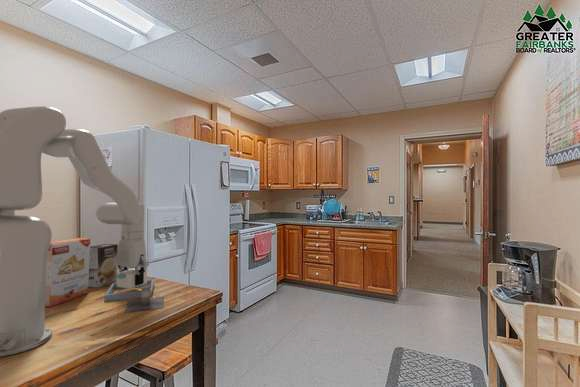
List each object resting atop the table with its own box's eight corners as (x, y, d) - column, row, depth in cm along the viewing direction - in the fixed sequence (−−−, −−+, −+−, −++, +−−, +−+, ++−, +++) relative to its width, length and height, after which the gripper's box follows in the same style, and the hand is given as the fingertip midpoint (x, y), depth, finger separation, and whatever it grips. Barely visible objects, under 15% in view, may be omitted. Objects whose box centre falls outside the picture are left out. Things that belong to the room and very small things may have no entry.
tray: (151, 298, 100) (151, 290, 100) (104, 304, 94) (104, 295, 94) (153, 286, 113) (153, 279, 113) (112, 291, 108) (112, 283, 108)
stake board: (163, 311, 89) (163, 289, 89) (123, 316, 85) (124, 293, 85) (164, 299, 99) (164, 279, 100) (129, 303, 95) (129, 283, 95)
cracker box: (50, 307, 91) (52, 243, 91) (36, 306, 92) (37, 243, 92) (89, 293, 105) (91, 238, 105) (76, 292, 106) (77, 237, 106)
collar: (125, 290, 98) (125, 276, 98) (111, 287, 100) (112, 274, 100) (146, 283, 106) (147, 270, 106) (133, 281, 109) (133, 268, 109)
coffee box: (98, 288, 111) (99, 247, 111) (85, 286, 112) (86, 247, 113) (117, 281, 120) (118, 244, 120) (104, 280, 121) (105, 243, 122)
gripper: (107, 235, 104) (106, 283, 104) (140, 238, 97) (139, 289, 97) (125, 233, 111) (124, 277, 111) (158, 235, 104) (157, 283, 104)
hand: (131, 282), depth 104 cm, fingers closed on collar, 7 cm apart
